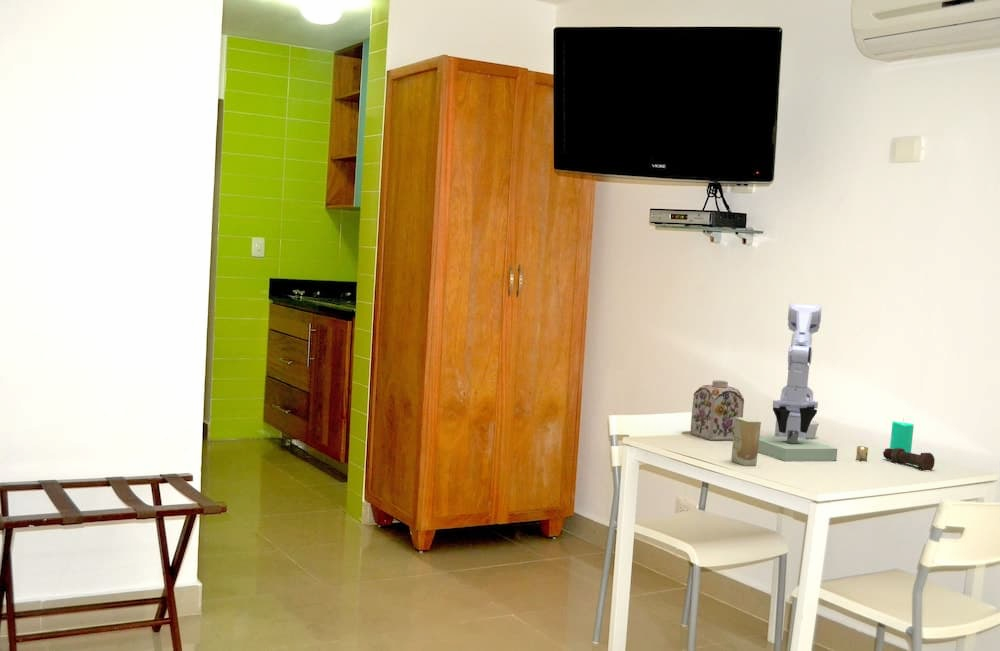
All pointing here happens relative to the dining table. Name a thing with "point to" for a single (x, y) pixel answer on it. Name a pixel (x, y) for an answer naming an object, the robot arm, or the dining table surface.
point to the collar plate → (796, 449)
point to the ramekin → (812, 430)
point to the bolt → (910, 458)
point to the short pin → (862, 453)
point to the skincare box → (746, 441)
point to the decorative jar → (716, 411)
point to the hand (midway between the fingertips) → (792, 432)
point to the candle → (901, 436)
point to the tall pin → (792, 437)
